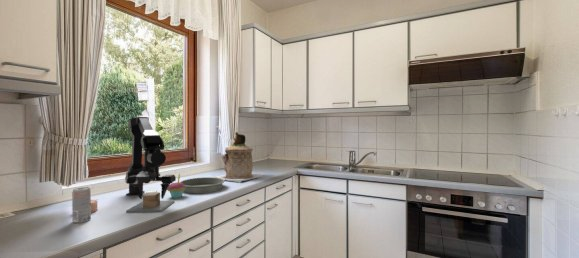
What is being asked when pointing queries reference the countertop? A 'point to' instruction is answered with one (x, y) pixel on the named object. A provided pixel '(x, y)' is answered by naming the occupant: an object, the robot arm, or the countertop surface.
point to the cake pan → (202, 185)
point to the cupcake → (176, 189)
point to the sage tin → (151, 191)
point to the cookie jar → (238, 161)
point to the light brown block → (93, 206)
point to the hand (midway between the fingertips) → (151, 198)
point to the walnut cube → (151, 199)
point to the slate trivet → (157, 208)
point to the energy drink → (81, 205)
